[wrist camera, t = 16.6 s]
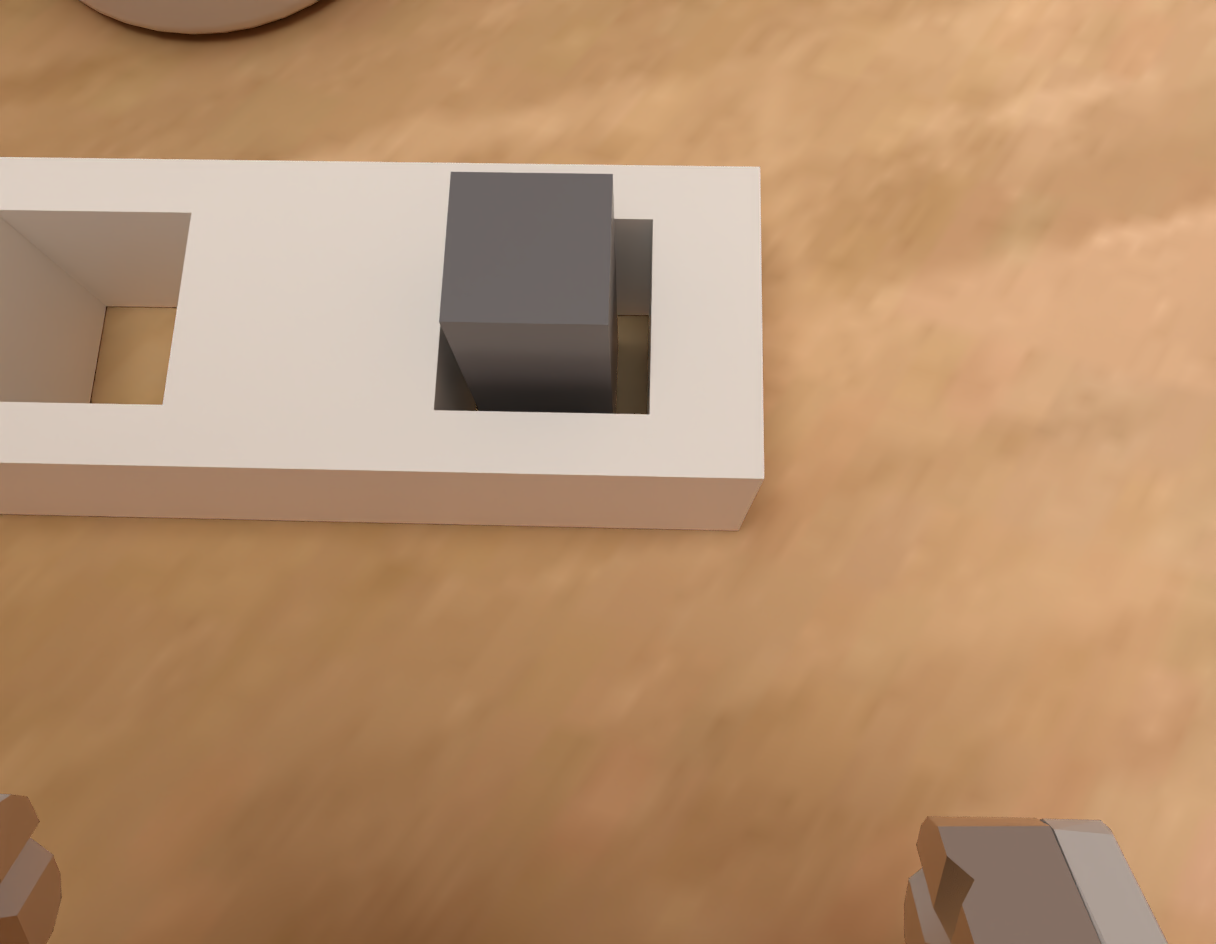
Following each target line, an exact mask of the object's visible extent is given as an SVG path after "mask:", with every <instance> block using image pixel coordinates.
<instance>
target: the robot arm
mask: <svg viewBox="0 0 1216 944" xmlns="http://www.w3.org/2000/svg"><path fill="white" fill-rule="evenodd" d="M39 822H40V821H39V819H38V817H37V815H36V813H35V810H34V808H33V806H32V804H31V802H30V800H29V798H28V797H27V796H19V795H12V794H0V944H47V942H48V940H49V938H50V936H51V934H52V932H53V930H54V926H55V922H56V918H57V914H58V911H59V907H60V903H61V899H62V892H61V875H60V871H59V868H58V866H57V863H56V861H55V858H54V855H53V854H51V853H50V852H49V851H47V850H46V849H45V848H43V847H42V846H41V845H39V844H38V843H37V842H35V841H34V840H33V839H31V838H30V837H31V835H32V834H33V832H34V830H35V829H36V827H37V826H38V824H39ZM916 846H917V850H918V853H919V857H920V861H921V864H922V869H920V870H919V871H918V872H917V873H915V874H914V875H913V876H911V877H910V878H909V880H908V886H907V891H906V897H905V902H904V937H905V944H1168V942H1167V940H1166V938H1165V936H1164V934H1163V932H1162V930H1161V928H1160V926H1159V924H1158V922H1157V920H1156V918H1155V916H1154V914H1153V912H1152V910H1151V908H1150V906H1149V904H1148V902H1147V900H1146V898H1145V897H1144V895H1143V893H1142V891H1141V889H1140V887H1139V885H1138V883H1137V881H1136V879H1135V877H1134V875H1133V873H1132V871H1131V869H1130V867H1129V865H1128V863H1127V861H1126V859H1125V857H1124V855H1123V853H1122V851H1121V849H1120V847H1119V845H1118V843H1117V841H1116V839H1115V837H1114V835H1113V833H1112V831H1111V829H1110V828H1108V827H1107V826H1106V825H1105V824H1104V823H1103V822H1102V821H1101V820H1075V819H1041V820H1038V819H1037V818H1013V817H937V816H927V818H926V819H925V821H924V822H923V823H922V825H921V827H920V832H919V836H918V840H917V844H916Z"/></svg>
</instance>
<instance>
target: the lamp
mask: <svg viewBox="0 0 1216 944" xmlns="http://www.w3.org/2000/svg"><path fill="white" fill-rule="evenodd" d="M79 1H81V2H83V3H84V4H86V5H88V6H89V7H91V8H92V9H94V10H96V11H97V12H99V13H101V14H104V15H106V16H109V17H111V18H114V19H116V20H119V21H121V22H124V23H126V24H130V25H135V26H139V27H143V28H148V29H152V30H156V31H161V32H171V33H183V34H212V33H226V32H232V31H237V30H243V29H248V28H254V27H257V26H261V25H264V24H267V23H270V22H273V21H276V20H279V19H282V18H285V17H287V16H290V15H292V14H294V13H296V12H298V11H300V10H302V9H304V8H306V7H309V6H311V5H313V4H314V3H316V2H318V1H319V0H79Z"/></svg>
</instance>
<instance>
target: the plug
mask: <svg viewBox="0 0 1216 944" xmlns="http://www.w3.org/2000/svg"><path fill="white" fill-rule="evenodd" d="M439 323H440V325H441V327H442V329H443V332H444V334H445V336H446V338H447V341H448V343H449V345H450V347H451V350H452V352H453V354H454V356H455V358H456V361H457V363H458V365H459V367H460V370H461V372H462V374H463V376H464V379H465V381H466V383H467V385H468V387H469V390H470V392H471V394H472V396H473V399H474V401H475V403H476V405H477V407H478V410H479V411H499V412H550V413H601V414H616V396H617V360H618V325H617V292H616V260H615V227H614V194H613V174H583V173H511V172H451V176H450V188H449V201H448V214H447V227H446V239H445V252H444V265H443V278H442V291H441V303H440V316H439Z"/></svg>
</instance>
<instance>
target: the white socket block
mask: <svg viewBox="0 0 1216 944" xmlns="http://www.w3.org/2000/svg"><path fill="white" fill-rule="evenodd" d="M451 172H511V173H583V174H613V194H614V227H615V260H616V292H617V315H649V334H648V389H647V414H601V413H550V412H499V411H475V401H474V399H473V396H472V394H471V392H470V390H469V387H468V385H467V383H466V381H465V379H464V376H463V374H462V372H461V370H460V367H459V365H458V363H457V361H456V358H455V356H454V354H453V352H452V350H451V347H450V345H449V343H448V341H447V338H446V336H445V334H444V332H443V329H442V327H441V325H440V323H439V316H440V303H441V291H442V278H443V265H444V252H445V239H446V227H447V214H448V201H449V188H450V176H451ZM106 306H125V307H177V313H176V319H175V326H174V332H173V339H172V346H171V352H170V359H169V366H168V372H167V379H166V386H165V392H164V399H163V405H141V404H90V399H91V393H92V387H93V381H94V376H95V370H96V364H97V358H98V352H99V346H100V340H101V335H102V329H103V323H104V317H105V311H106ZM763 480H764V422H763V347H762V271H761V195H760V167H733V166H655V165H577V164H499V163H421V162H343V161H265V160H187V159H109V158H31V157H0V514H19V515H63V516H107V517H151V518H196V519H240V520H284V521H328V522H372V523H416V524H461V525H505V526H549V527H593V528H637V529H681V530H725V531H738V530H739V528H740V526H741V524H742V522H743V520H744V518H745V516H746V514H747V512H748V510H749V508H750V506H751V504H752V502H753V500H754V498H755V496H756V494H757V492H758V490H759V488H760V486H761V484H762V482H763Z"/></svg>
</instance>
